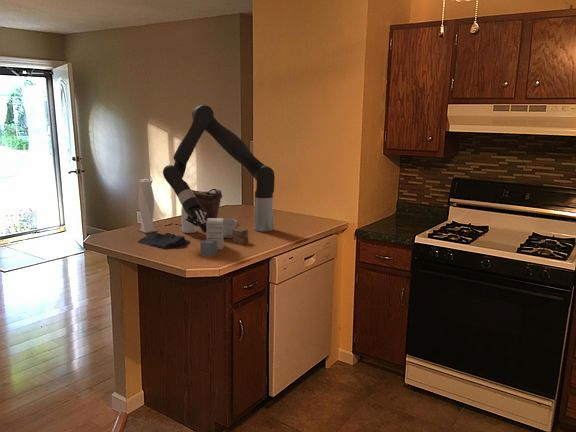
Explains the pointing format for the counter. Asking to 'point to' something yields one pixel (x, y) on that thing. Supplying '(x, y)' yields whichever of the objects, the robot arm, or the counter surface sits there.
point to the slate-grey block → (208, 248)
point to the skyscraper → (146, 205)
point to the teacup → (229, 227)
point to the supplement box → (215, 231)
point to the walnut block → (240, 236)
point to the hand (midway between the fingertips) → (206, 231)
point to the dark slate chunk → (164, 241)
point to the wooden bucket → (209, 201)
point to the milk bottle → (187, 223)
